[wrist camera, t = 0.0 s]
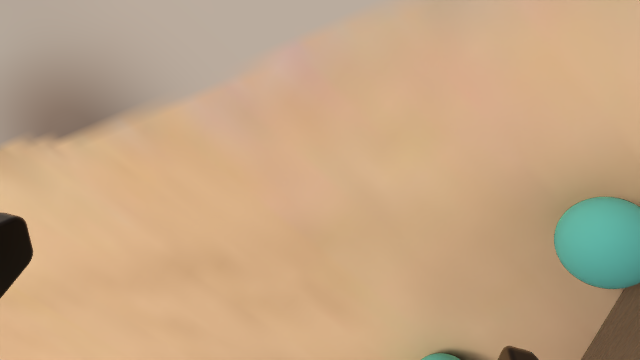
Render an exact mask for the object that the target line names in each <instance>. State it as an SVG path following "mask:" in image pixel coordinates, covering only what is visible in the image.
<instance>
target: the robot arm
mask: <svg viewBox="0 0 640 360" xmlns="http://www.w3.org/2000/svg"><path fill="white" fill-rule="evenodd" d="M32 256H33V248H32V244H31V240H30V236H29V232H28V228H27V224H26V222H25V220H24V219H23V218H21V217H19V216H15V215H11V214H7V213H0V298H1V297H2V296H3V295H4V293H5V292H6V291H7V290H8V289H9V287H10V286H11V285H12V284H13V282H14V281H15V280H16V279H17V278H18V276H19V275H20V274H21V273H22V271H23V270H24V269H25V268H26V267H27V265H28V264H29V263H30V261H31V259H32ZM498 360H538V358H537V357H536V356H535V355H534V354H533V353H532V352H530V351H527V350H523V349H519V348H516V347H512V346H507V347H505V348H504V349H503V350H502V352H501V354H500V356H499V358H498Z"/></svg>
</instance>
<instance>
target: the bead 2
mask: <svg viewBox="0 0 640 360" xmlns="http://www.w3.org/2000/svg"><path fill="white" fill-rule="evenodd" d="M554 244H555V249H556V252H557V255H558V257H559V259H560V261H561V263H562V264H563V265H564V267H565V268H566V269H567V270H568V271H569V272H570V273H571V274H572V275H573V276H575V277H576V278H578V279H579V280H581V281H583V282H585V283H587V284H589V285H592V286H596V287H599V288H605V289H620V288H626V287H630V286H633V285H636V284H638V283H640V207H639V206H637V205H635V204H633V203H631V202H629V201H626V200H623V199H619V198H614V197H595V198H590V199H586V200H584V201H581V202H579V203H577V204H575V205H574V206H572V207H571V208H569V209H568V210H567V211H566V212H565V213H564V214H563V216H562V217H561V218H560V220H559V222H558V224H557V226H556V229H555V234H554Z"/></svg>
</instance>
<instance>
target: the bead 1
mask: <svg viewBox="0 0 640 360" xmlns="http://www.w3.org/2000/svg"><path fill="white" fill-rule="evenodd" d="M421 360H460V359H459V358H457V357H455V356H453V355H450V354H445V353H435V354H431V355H428V356H426V357H424V358H423V359H421Z"/></svg>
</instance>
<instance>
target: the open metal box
mask: <svg viewBox="0 0 640 360" xmlns="http://www.w3.org/2000/svg"><path fill="white" fill-rule="evenodd" d="M581 360H640V283H638V284H636V285H633V286H630V287H626V288H625V289H624V291H623V292H622V294H621V296H620V297H619V299H618V301H617V302H616V304H615V305H614V307H613V309H612V310H611V312H610V314H609V315H608V317H607V319H606V320H605V322H604V323H603V325H602V327H601V328H600V330H599V332H598V333H597V335H596V336H595V338H594V340H593V341H592V343H591V345H590V346H589V348H588V349H587V351H586V353H585V354H584V356H583V358H582V359H581Z"/></svg>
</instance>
